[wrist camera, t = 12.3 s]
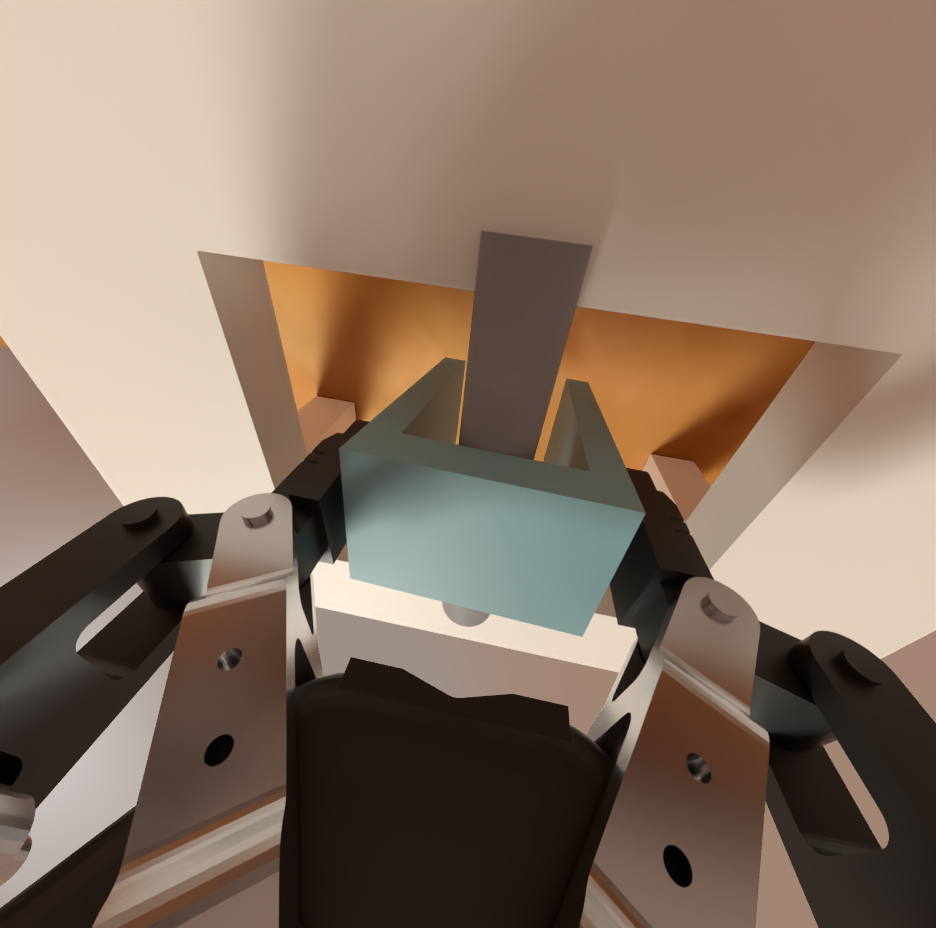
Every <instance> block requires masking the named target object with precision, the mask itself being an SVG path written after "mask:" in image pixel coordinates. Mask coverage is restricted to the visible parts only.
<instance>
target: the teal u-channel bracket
mask: <svg viewBox="0 0 936 928" xmlns="http://www.w3.org/2000/svg"><path fill="white" fill-rule="evenodd" d="M464 369H465V361H463V360H457V359H452V358H446V357H445V358H444V359H443V360H442V361H441V362H440V363H438V364H437V365H436V366H435V367H434V368H433V369H431V370H430V371H429V372H428V373H427V374H426V375H424V376H423V377H422V378H421V379H420V380H418V381H417V382H416V383H415V384H414V385H413V386H411V387H410V388H409V389H408V390H407V391H406V392H404V393H403V394H402V395H401V396H400V397H399V398H397V399H396V400H395V401H394V402H393V403H392V404H390V405H389V406H388V407H387V408H386V409H384V410H383V411H382V412H381V413H380V414H379V415H377V416H376V417H375V418H374V419H373V420H372V421H370V422H369V423H368V424H367V425H366V426H365V427H363V428H362V429H361V430H360V431H359V432H358V433H356V434H355V435H354V436H353V437H352V438H350V439H349V440H348V441H347V442H346V443H345V444H343V445H342V446H341V447H340V448H339V456H340V468H341V479H342V491H343V503H344V514H345V526H346V538H347V550H348V561H349V573H350V579H354V580H358V581H362V582H366V583H370V584H374V585H378V586H382V587H386V588H390V589H394V590H398V591H402V592H406V593H410V594H414V595H418V596H422V597H426V598H430V599H434V600H438V601H442V602H446V603H449V604H453V605H457V606H461V607H465V608H469V609H473V610H477V611H481V612H485V613H489V614H493V615H497V616H501V617H505V618H509V619H513V620H517V621H521V622H525V623H529V624H533V625H537V626H541V627H545V628H549V629H553V630H557V631H561V632H565V633H569V634H573V635H576V636H580V637H583V635H584V633H585V631H586V629H587V627H588V625H589V623H590V621H591V619H592V617H593V615H594V613H595V611H596V609H597V607H598V605H599V603H600V601H601V600H602V598H603V596H604V594H605V592H606V590H607V588H608V586H609V584H610V582H611V580H612V578H613V576H614V574H615V572H616V570H617V568H618V566H619V564H620V562H621V561H622V559H623V557H624V555H625V553H626V551H627V549H628V547H629V545H630V543H631V541H632V539H633V537H634V535H635V533H636V531H637V529H638V527H639V525H640V523H641V522H642V520H643V518H644V516H645V514H646V512H645V510H644V508H643V506H642V503H641V501H640V499H639V497H638V494H637V492H636V490H635V488H634V485H633V483H632V481H631V479H630V476H629V474H628V472H627V469H626V467H625V465H624V463H623V460H622V458H621V456H620V454H619V451H618V449H617V447H616V445H615V442H614V440H613V438H612V436H611V433H610V431H609V429H608V426H607V424H606V422H605V420H604V417H603V415H602V413H601V411H600V408H599V406H598V404H597V402H596V399H595V397H594V395H593V393H592V390H591V388H590V386H589V384H588V382H583V381H577V380H571V379H566V382H565V386H564V390H563V393H562V397H561V400H560V404H559V407H558V411H557V415H556V418H555V422H554V425H553V429H552V432H551V436H550V439H549V443H548V447H547V450H546V454H545V457H544V462H541V461H536V460H531V459H526V458H521V457H516V456H511V455H506V454H501V453H496V452H491V451H486V450H481V449H476V448H471V447H466V446H461V445H456V444H455V443H456V436H457V428H458V419H459V411H460V403H461V394H462V386H463V377H464Z"/></svg>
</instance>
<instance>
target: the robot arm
mask: <svg viewBox="0 0 936 928" xmlns="http://www.w3.org/2000/svg"><path fill="white" fill-rule="evenodd" d="M368 423H369V422H367V421H362V420H356V421H354V422H353V424H352V425H351V426H350V427H349V428H348V429H347V430H346V431H345V432H344V433H338V432H337V433H336V434H334V435H332V436H330V437H328V438H326V439H324V440H322V441H321V442H320V443H319V444H318V445H317V446H316V447H315V448H314V449H313V450H312V453H309V455H308V456H307V457H306V458H305V459H304V462H303V461H302V462H301V463H300V464H299V465H298V466H297V467H296V468H295V469H294V470H293V471H292V472H291V473H290V474H289V475H288V476H287V477H286V478H285V479H284V480H283V481H282V482H281V483H280V484H279V485H278V486H277V487H276V488H275V489H274V491H273V492H272V493H262V494H256V495H252V496H249V497H246V498H244V499H241V500H239V501H238V502H236V503H234V504H233V505H231V506H230V507H229V508H228V509H227V510H226V511H225V512H223V513H205V514H187V512H186V510H185V508H184V507H183V505H182V503H181V502H180V501H178V500H177V499H174V498H171V497H152V498H147V499H142V500H139V501H136V502H133V503H130V504H128V505H125V506H123V507H122V508H119V509H118V510H116V511H114V512H113V513H111V514H110V515H108V516H107V517H105V518H104V519H102V520H101V521H99V522H98V523H96V524H95V525H93V526H92V527H90V528H89V529H87V530H86V531H84V532H83V533H81V534H80V535H78V536H77V537H75V538H74V539H72V540H71V541H69V542H68V543H66V544H65V545H63V546H62V547H60V548H59V549H57V550H56V551H54V552H53V553H51V554H50V555H48V556H47V557H45V558H44V559H42V560H41V561H39V562H38V563H36V564H35V565H33V566H32V567H30V568H29V569H27V570H26V571H24V572H23V573H21V574H20V575H18V576H17V577H15V578H14V579H12V580H11V581H9V582H8V583H6V584H5V585H3V586H2V587H0V886H1V885H2V884H3V883H5V882H6V881H7V880H9V879H10V878H11V877H12V876H13V875H14V874H15V873H16V872H17V870H18V869H19V868H20V867H21V865H22V864H23V863H24V862H25V860H26V858H27V857H28V854H29V852H30V850H31V845H32V839H31V837H30V836H29V835H28V834H29V832H30V830H31V827H32V824H33V821H34V817H35V809H36V808H37V807H38V806H39V804H41V802H42V801H43V800H44V799H45V798H46V797H47V796H48V794H49V793H50V792H51V791H52V790H53V789H54V788H55V786H56V785H57V784H58V783H59V782H60V781H61V780H62V778H63V777H64V776H65V775H66V774H67V773H68V772H69V770H70V769H71V768H72V767H73V766H74V764H75V763H76V762H77V761H78V760H79V759H80V758H81V757H82V755H83V754H84V753H85V752H86V751H87V750H88V749H89V747H90V746H91V745H92V744H93V743H94V742H95V740H96V739H97V738H98V737H99V736H100V735H101V734H102V732H103V731H104V730H105V729H106V728H107V727H108V726H109V724H110V723H111V722H112V721H113V720H114V719H115V717H116V716H117V715H118V714H119V713H120V712H121V710H122V709H123V708H124V707H125V706H126V705H127V704H128V703H129V701H130V700H131V699H132V698H133V697H134V696H135V695H136V693H137V692H138V691H139V690H140V689H141V687H142V686H143V685H144V684H145V683H146V682H147V681H148V680H149V678H150V677H151V676H152V675H153V674H154V673H155V671H156V670H157V669H158V668H159V667H160V665H162V663H163V662H164V661H165V660H166V659H167V658H168V657H169V655H170V654H171V653H172V652H173V651H174V653H173V657H172V661H171V665H170V670H169V674H168V678H167V682H166V686H165V690H164V694H163V698H162V703H161V706H160V711H159V715H158V719H157V723H156V727H155V731H154V735H153V740H152V744H151V748H150V752H149V756H148V760H147V764H146V768H145V772H144V777H143V780H142V785H141V789H140V793H139V797H138V801H137V805H136V806H135V807H133V808H132V809H131V810H129V811H128V812H127V813H126V814H124V815H123V816H122V817H120V818H119V819H118V820H116V821H115V822H114V823H112V824H111V825H110V826H108V827H107V828H106V829H104V830H103V831H102V832H100V833H99V834H98V835H96V836H95V837H94V838H92V839H91V840H90V841H88V842H87V843H86V844H85V845H83V846H82V847H81V848H79V849H78V850H77V851H75V852H74V853H73V854H71V855H70V856H69V857H68V858H66V859H65V860H63V861H62V862H61V863H59V864H58V865H57V866H55V867H54V868H53V869H51V870H50V871H49V872H48V873H46V874H45V875H44V876H42V877H41V878H40V879H38V880H37V881H36V882H34V883H33V884H32V885H30V886H29V887H28V888H26V889H25V890H24V891H22V892H21V893H20V894H19V895H17V896H16V897H14V898H13V899H12V900H10V901H9V902H8V903H7V904H5V905H4V906H3V907H1V908H0V928H755V924H756V912H757V899H758V887H759V874H760V862H761V849H762V836H763V824H764V812H765V801H766V803H767V805H768V808H769V810H770V813H771V815H772V817H773V820H774V822H775V824H776V827H777V829H778V832H779V834H780V836H781V839H782V841H783V844H784V846H785V848H786V851H787V853H788V855H789V858H790V860H791V863H792V865H793V867H794V870H795V872H796V875H797V877H798V880H799V882H800V884H801V887H802V889H803V891H804V894H805V896H806V899H807V901H808V903H809V906H810V908H811V911H812V913H813V915H814V918H815V920H816V922H817V925H818V927H819V928H936V723H935V722H934V721H933V719H932V718H931V717H930V716H929V715H928V713H927V712H926V711H925V710H924V709H923V707H922V706H921V705H920V704H919V703H918V701H917V700H916V699H915V698H914V696H913V695H912V694H911V693H910V691H909V690H908V689H907V688H906V687H905V685H904V684H903V683H902V682H901V681H900V679H899V678H898V677H897V676H896V675H895V673H894V672H893V671H892V670H891V669H890V668H889V667H888V666H887V665H886V664H885V663H884V662H883V661H882V660H880V659H879V658H878V657H877V656H876V655H874V654H873V653H872V652H870V651H869V650H868V649H866V648H865V647H863V646H862V645H860V644H859V643H857V642H855V641H853V640H851V639H849V638H847V637H845V636H843V635H840V634H838V633H835V632H830V631H816V632H814V633H812V634H811V635H809V636H808V637H806V638H805V639H803V640H800V639H798V638H796V637H793V636H791V635H789V634H787V633H785V632H782V631H780V630H778V629H776V628H773V627H771V626H769V625H767V624H765V623H762V622H760V621H759V620H758V618H757V615H756V614H755V612H754V610H753V609H752V608H751V606H750V605H749V604H748V603H747V602H746V601H745V600H744V599H743V598H742V597H741V596H740V595H739V594H738V593H736V592H735V591H734V590H732V589H731V588H729V587H728V586H726V585H724V584H722V583H720V582H718V581H716V580H714V578H713V576H712V574H711V572H710V570H709V568H708V566H707V564H706V562H705V560H704V559H703V557H702V555H701V553H700V551H699V549H698V547H697V545H696V543H695V541H694V539H693V537H692V535H690V531H689V529H688V527H687V525H686V523H684V519H683V517H682V515H681V513H680V511H679V509H678V507H677V505H676V504H675V503H674V502H673V501H672V500H671V499H670V498H669V497H668V496H667V495H666V494H665V493H664V492H662V491H657V489H656V487H655V485H654V483H653V481H652V479H651V476H650V474H649V473H648V472H646V471H641V470H635V469H630V468H626V469H627V472H628V474H629V476H630V479H631V481H632V483H633V485H634V488H635V490H636V492H637V494H638V497H639V499H640V501H641V503H642V506H643V508H644V510H645V512H646V514H645V516H644V518H643V520H642V522H641V523H640V525H639V527H638V529H637V531H636V533H635V535H634V537H633V539H632V541H631V543H630V545H629V547H628V549H627V551H626V553H625V555H624V557H623V559H622V561H621V562H620V564H619V566H618V568H617V570H616V572H615V574H614V576H613V578H612V580H611V582H610V589H611V594H612V599H613V604H614V608H615V613H616V618H617V623H618V625H621V626H626V627H631V628H635V630H636V634H637V639H636V640H635V642H634V643H633V644H632V646H631V648H630V651H629V653H628V655H627V657H626V659H625V661H624V664H623V666H622V668H621V670H620V672H619V675H618V677H617V679H616V681H615V684H614V686H613V688H612V690H611V692H610V694H609V697H608V699H607V701H606V703H605V705H604V707H603V709H602V711H601V712H600V714H599V716H598V717H597V718H596V720H595V721H594V723H593V724H592V726H591V728H590V729H589V731H588V733H587V735H584V734H583V733H582V732H580V731H579V730H578V729H576V728H574V727H573V726H571V725H569V712H568V706H564V705H560V704H555V703H551V702H547V701H542V700H538V699H533V698H529V697H524V696H520V695H516V694H506V695H495V696H494V695H493V696H481V697H468V698H454V697H451V696H449V695H447V694H445V693H444V692H442V691H440V690H438V689H437V688H435V687H433V686H431V685H430V684H428V683H426V682H424V681H423V680H421V679H419V678H418V677H416V676H414V675H412V674H410V673H409V672H407V671H405V670H404V669H401V668H396V667H392V666H387V665H383V664H378V663H374V662H370V661H365V660H361V659H356V658H351V659H350V661H349V664H348V666H347V668H346V671H345V673H337V674H332V675H328V676H323V672H322V665H321V659H320V654H319V648H318V640H317V628H316V612H315V598H314V583H313V575H312V571H313V570H314V568H315V567H316V565H317V563H318V562H324V563H329V564H334V563H335V561H336V559H337V558H338V556H339V554H340V553H341V551H342V549H343V547H344V546H345V544H346V542H347V538H346V526H345V514H344V503H343V491H342V479H341V468H340V456H339V448H340V447H341V446H342V445H343V444H345V443H346V442H347V441H348V440H349V439H350V438H352V437H353V436H354V435H355V434H356V433H358V432H359V431H360V430H361V429H362V428H363V427H365V426H366V425H367V424H368ZM135 583H137V584H138V585H139V586H140V587H141V589H142V590H143V592H142V593H141V595H139V596H138V597H137V598H136V599H135V600H134V601H133V602H131V603H130V604H129V605H128V606H127V607H126V608H125V609H124V610H123V611H122V612H120V613H119V614H118V615H117V616H116V617H115V618H114V619H113V620H112V621H111V622H110V623H108V624H107V625H106V626H105V627H104V628H103V629H102V630H101V631H100V632H99V633H98V634H96V635H95V636H94V637H93V638H92V639H91V640H90V641H89V642H88V643H87V644H86V645H84V646H83V647H82V648H81V649H80V650H79V651H78V652H76V648H75V647H76V642H77V639H78V638H79V636H80V634H81V633H82V631H83V630H84V629H85V628H86V627H87V626H88V625H89V624H90V623H91V622H92V621H93V620H94V619H96V618H97V617H98V616H99V615H100V614H101V613H102V612H103V611H105V610H106V609H107V608H108V607H109V606H110V605H111V604H113V603H114V602H115V601H116V600H117V599H118V598H119V597H121V596H122V595H123V594H124V593H125V592H126V591H127V590H128V589H130V588H131V587H132V586H133V585H134V584H135ZM836 740H838V742H839V743H840V745H841V746H842V748H843V750H844V751H845V753H846V755H847V756H848V758H849V760H850V761H851V763H852V765H853V766H854V768H855V770H856V771H857V773H858V775H859V776H860V778H861V779H862V781H863V783H864V784H865V786H866V788H867V789H868V791H869V793H870V794H871V796H872V798H873V799H874V801H875V803H876V804H877V806H878V807H879V809H880V811H881V813H882V814H883V817H884V819H885V821H886V824H887V827H888V832H889V842H888V845H887V847H886V848H884V849H882V848H881V847H880V845H879V843H878V842H877V840H876V838H875V836H874V835H873V833H872V831H871V829H870V828H869V826H868V824H867V822H866V821H865V819H864V817H863V815H862V814H861V812H860V810H859V808H858V806H857V805H856V803H855V801H854V800H853V798H852V796H851V794H850V792H849V791H848V789H847V787H846V785H845V784H844V782H843V780H842V779H841V777H840V775H839V773H838V772H837V770H836V768H835V766H834V765H833V763H832V761H831V759H830V758H829V756H828V754H827V752H826V751H825V749H824V747H823V745H826V744H828V743H831V742H833V741H836Z"/></svg>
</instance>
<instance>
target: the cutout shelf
mask: <svg viewBox="0 0 936 928" xmlns="http://www.w3.org/2000/svg"><path fill="white" fill-rule="evenodd" d="M263 260H264V261H271V262H278V263H285V264H292V265H298V266H305V267H312V268H319V269H326V270H332V271H339V272H346V273H353V274H360V275H367V276H373V277H380V278H387V279H394V280H401V281H407V282H414V283H421V284H428V285H435V286H442V287H448V288H455V289H462V290H469V291H475V295H474V304H473V314H472V323H471V333H470V342H469V352H468V361H467V371H466V380H465V390H464V399H463V409H462V418H461V428H460V437H459V445H461V446H466V447H471V448H476V449H481V450H486V451H491V452H496V453H501V454H506V455H511V456H516V457H521V458H526V459H531V460H534V456H535V453H536V449H537V446H538V442H539V438H540V435H541V431H542V428H543V424H544V420H545V417H546V413H547V410H548V406H549V402H550V399H551V395H552V392H553V388H554V384H555V381H556V377H557V374H558V370H559V366H560V363H561V359H562V356H563V352H564V348H565V345H566V341H567V338H568V334H569V330H570V327H571V323H572V320H573V316H574V312H575V309H576V306H578V307H585V308H591V309H598V310H605V311H612V312H619V313H625V314H632V315H639V316H646V317H653V318H660V319H666V320H673V321H680V322H687V323H694V324H700V325H707V326H714V327H721V328H728V329H735V330H741V331H748V332H755V333H762V334H769V335H775V336H782V337H789V338H796V339H803V340H809V341H816V342H815V343H814V345H813V346H812V347H811V349H810V350H809V352H808V353H807V354H806V356H805V357H804V359H803V360H802V361H801V363H800V364H799V365H798V367H797V368H796V370H795V371H794V372H793V374H792V375H791V377H790V378H789V379H788V381H787V382H786V383H785V385H784V386H783V388H782V389H781V390H780V392H779V393H778V395H777V396H776V397H775V399H774V400H773V401H772V403H771V404H770V406H769V407H768V408H767V410H766V411H765V413H764V414H763V415H762V417H761V418H760V419H759V421H758V422H757V424H756V425H755V426H754V428H753V429H752V431H751V432H750V433H749V435H748V436H747V438H746V439H745V440H744V442H743V443H742V444H741V446H740V447H739V449H738V450H737V451H736V453H735V454H734V456H733V457H732V458H731V460H730V461H729V462H728V464H727V465H726V467H725V468H724V469H723V471H722V472H721V474H720V475H719V476H718V478H717V479H716V480H715V482H714V483H713V485H712V486H710V485H709V483H708V482H707V480H706V479H705V477H704V476H703V474H702V473H701V471H700V470H699V468H698V467H697V465H696V464H695V462H694V461H688V460H682V459H676V458H671V457H665V456H659V455H653V454H650V456H649V458H648V460H647V462H646V464H645V466H644V467H643V469H642V471H646V472H648V473H649V474H650V476H651V479H652V481H653V483H654V485H655V487H656V489H657V491H662V492H664V493H665V494H666V495H667V496H668V497H669V498H670V499H671V500H672V501H673V502H674V503H675V504H676V505H677V507H678V509H679V511H680V513H681V515H682V517H683V519H684V523H686V525H687V527H688V529H689V531H690V535H692V537H693V539H694V541H695V543H696V545H697V547H698V549H699V551H700V553H701V555H702V557H703V559H704V560H705V562H706V564H707V566H708V568H709V570H710V572H711V574H712V576H713V578H714V580H716V581H718V582H720V583H722V584H724V585H726V586H728V587H729V588H731V589H732V590H734V591H735V592H736V593H738V594H739V595H740V596H741V597H742V598H743V599H744V600H745V601H746V602H747V603H748V604H749V605H750V606H751V608H752V609H753V610H754V612H755V614H756V615H757V618H758V620H759V621H760V622H762V623H765V624H767V625H769V626H771V627H773V628H776V629H778V630H780V631H782V632H785V633H787V634H789V635H791V636H793V637H796V638H798V639H800V640H803V639H805V638H806V637H808V636H809V635H811V634H812V633H814V632H816V631H830V632H835V633H838V634H840V635H843V636H845V637H847V638H849V639H851V640H853V641H855V642H857V643H859V644H860V645H862V646H863V647H865V648H866V649H868V650H869V651H870V652H872V653H873V654H874V655H876V656H877V657H878V658H879V659H881V658H883V657H885V656H887V655H889V654H891V653H893V652H895V651H896V650H898V649H900V648H902V647H904V646H906V645H908V644H910V643H912V642H914V641H916V640H918V639H919V638H922V637H923V636H925V635H927V634H929V633H931V632H933V631H935V630H936V0H0V336H1V337H2V338H3V340H4V341H5V342H6V344H7V345H8V347H9V348H10V349H11V351H12V352H13V354H14V355H15V356H16V358H17V359H18V360H19V362H20V363H21V365H22V366H23V367H24V369H25V370H26V371H27V373H28V374H29V376H30V377H31V378H32V380H33V381H34V383H35V384H36V385H37V387H38V388H39V389H40V391H41V392H42V394H43V395H44V396H45V398H46V399H47V401H48V402H49V403H50V405H51V406H52V408H53V409H54V410H55V412H56V413H57V414H58V416H59V417H60V419H61V420H62V421H63V423H64V424H65V426H66V427H67V428H68V430H69V431H70V433H71V434H72V435H73V437H74V438H75V439H76V441H77V442H78V444H79V445H80V446H81V448H82V449H83V450H84V452H85V453H86V455H87V456H88V457H89V459H90V460H91V462H92V463H93V464H94V466H95V467H96V469H97V470H98V471H99V473H100V474H101V475H102V477H103V478H104V480H105V481H106V482H107V483H108V485H109V487H110V488H111V489H112V491H113V492H114V493H115V495H116V496H117V497H118V499H119V500H120V502H121V503H122V504H123V506H125V505H128V504H130V503H133V502H136V501H139V500H142V499H147V498H152V497H171V498H174V499H177V500H178V501H180V502H181V503H182V505H183V507H184V508H185V510H186V512H187V514H205V513H223V512H225V511H226V510H227V509H228V508H229V507H230V506H231V505H233V504H234V503H236V502H238V501H239V500H241V499H244V498H246V497H249V496H252V495H256V494H262V493H272V492H273V491H274V489H275V488H276V487H277V486H278V485H279V484H280V483H281V482H282V481H283V480H284V479H285V478H286V477H287V476H288V475H289V474H290V473H291V472H292V471H293V470H294V469H295V468H296V467H297V466H298V465H299V464H300V463H301V462H302V461H303V462H304V459H305V458H306V457H307V456H308V455H309V453H312V450H313V449H314V448H315V447H316V446H317V445H318V444H319V443H320V442H321V441H322V440H324V439H326V438H328V437H330V436H332V435H334V434H336V433H337V432H338V433H344V432H345V431H346V430H347V429H348V428H349V427H350V426H351V425H352V424H353V422H354V421H356V413H355V405H354V403H353V402H348V401H342V400H336V399H330V398H325V397H319V396H316V397H315V398H314V399H312V400H311V401H310V402H308V403H307V404H306V405H305V406H303V407H302V408H301V409H300V410H298V411H297V408H296V404H295V399H294V395H293V391H292V386H291V382H290V378H289V373H288V369H287V364H286V360H285V356H284V351H283V347H282V343H281V338H280V334H279V330H278V325H277V321H276V317H275V312H274V308H273V304H272V299H271V295H270V290H269V286H268V282H267V277H266V273H265V269H264V264H263ZM312 575H313V583H314V598H315V606H316V607H320V608H325V609H330V610H334V611H339V612H343V613H348V614H353V615H357V616H362V617H366V618H371V619H376V620H380V621H385V622H389V623H394V624H398V625H403V626H408V627H412V628H417V629H422V630H426V631H431V632H435V633H440V634H444V635H449V636H454V637H458V638H463V639H468V640H472V641H477V642H481V643H486V644H490V645H495V646H500V647H504V648H509V649H513V650H518V651H523V652H527V653H532V654H537V655H542V656H546V657H550V658H555V659H560V660H564V661H569V662H573V663H578V664H583V665H587V666H592V667H596V668H601V669H606V670H610V671H615V672H620V670H621V668H622V666H623V664H624V661H625V659H626V657H627V655H628V653H629V651H630V648H631V646H632V644H633V643H634V642H635V640H636V639H637V634H636V630H635V628H631V627H626V626H621V625H618V623H617V618H616V613H615V608H614V604H613V599H612V594H611V589H610V584H609V586H608V588H607V590H606V592H605V594H604V596H603V598H602V600H601V601H600V603H599V605H598V607H597V609H596V611H595V613H594V615H593V617H592V619H591V621H590V623H589V625H588V627H587V629H586V631H585V633H584V635H583V637H580V636H576V635H573V634H569V633H565V632H561V631H557V630H553V629H549V628H545V627H541V626H537V625H533V624H529V623H525V622H521V621H517V620H513V619H509V618H505V617H501V616H497V615H493V614H489V613H485V612H481V611H477V610H473V609H469V608H465V607H461V606H457V605H453V604H449V603H446V602H442V601H438V600H434V599H430V598H426V597H422V596H418V595H414V594H410V593H406V592H402V591H398V590H394V589H390V588H386V587H382V586H378V585H374V584H370V583H366V582H362V581H358V580H354V579H350V573H349V561H348V550H347V542H346V544H345V546H344V547H343V549H342V551H341V553H340V554H339V556H338V558H337V559H336V561H335V563H334V564H329V563H324V562H318V563H317V565H316V567H315V568H314V570H313V571H312Z"/></svg>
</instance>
